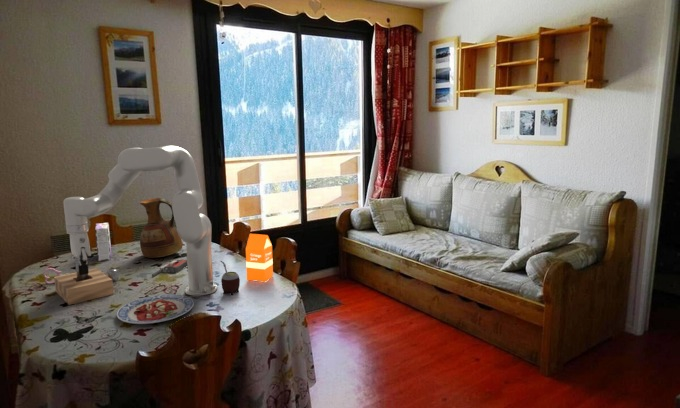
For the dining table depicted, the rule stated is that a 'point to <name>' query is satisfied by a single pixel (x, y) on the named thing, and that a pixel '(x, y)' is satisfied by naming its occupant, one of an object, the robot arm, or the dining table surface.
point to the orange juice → (259, 258)
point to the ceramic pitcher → (158, 231)
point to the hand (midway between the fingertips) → (82, 272)
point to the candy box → (103, 241)
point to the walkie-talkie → (173, 266)
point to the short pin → (113, 274)
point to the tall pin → (79, 277)
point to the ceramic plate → (155, 309)
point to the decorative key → (55, 271)
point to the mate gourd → (230, 282)
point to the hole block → (83, 286)
